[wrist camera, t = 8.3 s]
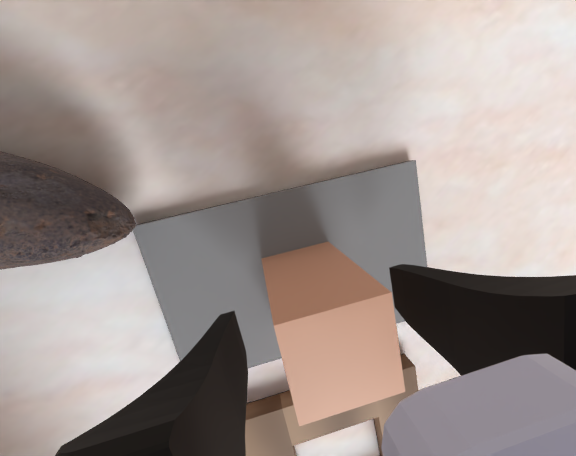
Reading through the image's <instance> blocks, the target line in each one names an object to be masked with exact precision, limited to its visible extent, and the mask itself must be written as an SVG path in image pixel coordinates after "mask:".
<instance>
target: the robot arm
mask: <svg viewBox="0 0 576 456" xmlns="http://www.w3.org/2000/svg"><path fill="white" fill-rule="evenodd" d="M389 271H390V278H391V285H392V292H393V299H394V306H395V308H396V310H397V311H398V312H399V314H400V315H401V316H402V317H403V319H404V320H405V321H406V322H407V323H408V324H409V325H410V326H411V327H412V328H413V329H414V330H415V331H416V332H417V333H418V334H419V335H420V336H421V337H422V338H423V339H424V340H425V341H426V342H428V343H429V344H430V345H431V346H432V347H433V348H434V349H435V350H436V351H437V352H438V353H439V354H440V355H441V356H443V357H444V358H445V359H446V360H447V361H448V362H449V363H450V364H451V365H452V366H453V367H454V368H455V369H456V370H457V371H458V372H459V374H460V375H461V376H459V377H456V378H453V379H450V380H447V381H444V382H441V383H438V384H435V385H432V386H429V387H426V388H423V389H420V390H419V391H417V392H415V393H414V394H412V395H410V396H408V397H407V398H405V399H403V400H402V401H400V402H399V403H398V405H397V406H396V408H395V409H394V410H393V412H392V413H391V415H390V416H389V417H388V419H387V420H386V422H385V424H384V430H383V438H382V446H381V449H382V455H383V456H576V275H574V276H557V277H502V276H487V275H476V274H468V273H460V272H453V271H447V270H441V269H435V268H429V267H423V266H416V265H409V264H400V265H397V266H393V267H389ZM247 383H248V367H247V355H246V349H245V345H244V342H243V339H242V335H241V332H240V328H239V325H238V322H237V318H236V315H235V311H231V312H227V313H224V314H220V315H219V316H218V318H217V319H216V320H215V321H214V323H213V324H212V325H211V326H210V328H209V329H208V330H207V332H206V333H205V334H204V335H203V337H202V338H201V339H200V340H199V341H198V343H197V344H196V345H195V346H194V347H193V348H192V349H191V350H190V352H189V353H188V354H187V355H186V356H185V357H184V358H183V359H182V360H181V361H180V362H179V363H178V364H177V365H176V366H175V367H174V368H173V369H172V370H171V371H170V372H169V373H168V374H167V375H165V376H164V377H163V378H162V379H161V380H160V381H158V382H157V383H156V384H155V385H153V386H152V387H151V388H150V389H148V390H147V391H146V392H145V393H143V394H142V395H141V396H140V397H138V398H137V399H136V400H134V401H133V402H131V403H130V404H129V405H127V406H126V407H124V408H123V409H121V410H120V411H118V412H117V413H116V414H114V415H113V416H111V417H110V418H108V419H106V420H105V421H103V422H102V423H100V424H98V425H97V426H95V427H93V428H92V429H90V430H88V431H87V432H85V433H83V434H82V435H80V436H78V437H77V438H75V439H73V440H72V441H70V442H68V443H66V444H64V445H63V446H61V448H60V449H59V451H58V452H57V454H56V455H55V456H246V447H245V423H246V403H247Z"/></svg>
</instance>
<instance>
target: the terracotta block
mask: <svg viewBox="0 0 576 456" xmlns="http://www.w3.org/2000/svg"><path fill="white" fill-rule="evenodd" d="M261 260H262V265H263V271H264V276H265V282H266V287H267V292H268V298H269V303H270V309H271V314H272V320H273V325H274V329H275V333H276V337H277V341H278V345H279V349H280V353H281V357H282V361H283V365H284V369H285V373H286V377H287V381H288V384H289V388H290V392H291V396H292V400H293V404H294V408H295V412H296V416H297V420H298V424H299V426H303V425H306V424H309V423H312V422H315V421H318V420H321V419H324V418H327V417H330V416H333V415H336V414H339V413H342V412H345V411H348V410H351V409H354V408H358V407H361V406H364V405H367V404H370V403H373V402H376V401H379V400H382V399H385V398H388V397H391V396H394V395H397V394H400V393H403V392H405V385H404V378H403V371H402V363H401V356H400V349H399V342H398V334H397V327H396V320H395V313H394V305H393V298H392V292H391V291H389V290H388V289H387V288H386V287H384V286H383V285H382V284H381V283H379V282H378V281H377V280H376V279H374V278H373V277H372V276H371V275H369V274H368V273H367V272H366V271H364V270H363V269H362V268H361V267H359V266H358V265H357V264H356V263H354V262H353V261H352V260H351V259H349V258H348V257H347V256H346V255H344V254H343V253H342V252H341V251H339V250H338V249H337V248H336V247H334V246H333V245H332V244H331V243H330V242H324V243H320V244H316V245H313V246H309V247H305V248H301V249H297V250H293V251H289V252H285V253H281V254H277V255H273V256H269V257H265V258H261Z"/></svg>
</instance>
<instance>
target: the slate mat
mask: <svg viewBox="0 0 576 456" xmlns="http://www.w3.org/2000/svg"><path fill="white" fill-rule="evenodd" d="M133 231H134V234H135V237H136V240H137V243H138V245H139V248H140V251H141V254H142V256H143V259H144V262H145V265H146V268H147V270H148V273H149V276H150V279H151V281H152V284H153V287H154V290H155V293H156V295H157V298H158V301H159V304H160V306H161V309H162V312H163V315H164V318H165V320H166V323H167V326H168V329H169V331H170V334H171V337H172V340H173V343H174V345H175V348H176V351H177V354H178V356H179V359H180V361H181V360H182V359H183V358H184V357H185V356H186V355H187V354H188V353H189V352H190V350H191V349H192V348H193V347H194V346H195V345H196V344H197V343H198V341H199V340H200V339H201V338H202V337H203V335H204V334H205V333H206V332H207V330H208V329H209V328H210V326H211V325H212V324H213V323H214V321H215V320H216V319H217V318H218V316H219V315H220V314H224V313H227V312H231V311H235V315H236V318H237V322H238V325H239V328H240V332H241V335H242V339H243V342H244V345H245V349H246V355H247V367H248V368H251V367H254V366H257V365H261V364H264V363H267V362H271V361H274V360H277V359H281V358H282V357H281V353H280V349H279V345H278V341H277V337H276V333H275V329H274V325H273V320H272V314H271V309H270V303H269V298H268V292H267V287H266V282H265V276H264V271H263V265H262V260H261V258H265V257H269V256H273V255H277V254H281V253H285V252H289V251H293V250H297V249H301V248H305V247H309V246H313V245H316V244H320V243H324V242H330V243H331V244H332V245H333V246H334V247H336V248H337V249H338V250H339V251H341V252H342V253H343V254H344V255H346V256H347V257H348V258H349V259H351V260H352V261H353V262H354V263H356V264H357V265H358V266H359V267H361V268H362V269H363V270H364V271H366V272H367V273H368V274H369V275H371V276H372V277H373V278H374V279H376V280H377V281H378V282H379V283H381V284H382V285H383V286H384V287H386V288H387V289H388V290H389V291H391V292H392V285H391V278H390V271H389V267H393V266H397V265H400V264H409V265H416V266H423V267H427V261H426V251H425V242H424V233H423V224H422V214H421V205H420V196H419V187H418V177H417V168H416V160H413V161H407V162H402V163H398V164H394V165H390V166H385V167H381V168H377V169H372V170H368V171H364V172H360V173H355V174H351V175H347V176H343V177H338V178H334V179H330V180H326V181H321V182H317V183H313V184H308V185H304V186H300V187H296V188H291V189H287V190H283V191H279V192H274V193H270V194H266V195H262V196H257V197H253V198H249V199H244V200H240V201H236V202H232V203H227V204H223V205H219V206H215V207H210V208H206V209H202V210H198V211H193V212H189V213H185V214H180V215H176V216H172V217H168V218H163V219H159V220H155V221H151V222H146V223H142V224H138V225H136V226H135V228H134V229H133ZM392 298H393V292H392ZM393 305H394V299H393ZM394 313H395V320H396V323H400V322H403V321H405V320H404V319H403V317H402V316H401V315H400V314H399V312H398V311H397V310H396V308H395V306H394Z"/></svg>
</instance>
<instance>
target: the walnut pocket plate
mask: <svg viewBox="0 0 576 456" xmlns="http://www.w3.org/2000/svg"><path fill="white" fill-rule="evenodd" d="M400 356H401V363H402V371H403V378H404V385H405V392H403V393H400V394H397V395H394V396H391V397H388V398H385V399H382V400H379V401H376V402H373V403H370V404H367V405H364V406H361V407H358V408H354V409H351V410H348V411H345V412H342V413H339V414H336V415H333V416H330V417H327V418H324V419H321V420H318V421H315V422H312V423H309V424H306V425H303V426H299V424H298V420H297V416H296V412H295V408H294V404H293V400H292V396H291V392H290V390H289V391H286V392H283V393H280V394H277V395H273V396H270V397H267V398H264V399H261V400H258V401H254V402H251V403H248V404H246V423H245V447H246V456H297V455H296V451H295V447H294V445H297V444H300V443H303V442H306V441H309V440H312V439H315V438H318V437H321V436H324V435H327V434H329V433H332V432H335V431H338V430H341V429H344V428H347V427H350V426H353V425H356V424H359V423H362V422H365V421H368V420H371V419H374V423H375V429H376V434H377V440H378V445H379V451H380V456H383V455H382V449H381V446H382V438H383V430H384V424H385V422H386V420H387V419H388V417H389V416H390V415H391V413H392V412H393V410H394V409H395V408H396V406H397V405H398V403H399V402H400V401H402V400H403V399H405V398H407V397H408V396H410V395H412V394H414V393H415V392H417V391H418V385H417V378H416V370H415V365H414V364H413V363H412V362H411V361H410V360H409V359H408V358H407V356H406V355H405V354H403V355H400Z"/></svg>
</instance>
